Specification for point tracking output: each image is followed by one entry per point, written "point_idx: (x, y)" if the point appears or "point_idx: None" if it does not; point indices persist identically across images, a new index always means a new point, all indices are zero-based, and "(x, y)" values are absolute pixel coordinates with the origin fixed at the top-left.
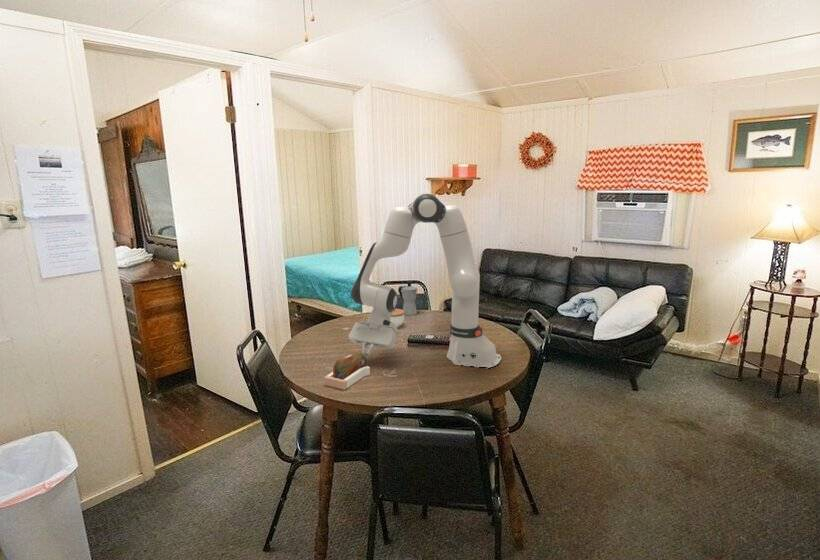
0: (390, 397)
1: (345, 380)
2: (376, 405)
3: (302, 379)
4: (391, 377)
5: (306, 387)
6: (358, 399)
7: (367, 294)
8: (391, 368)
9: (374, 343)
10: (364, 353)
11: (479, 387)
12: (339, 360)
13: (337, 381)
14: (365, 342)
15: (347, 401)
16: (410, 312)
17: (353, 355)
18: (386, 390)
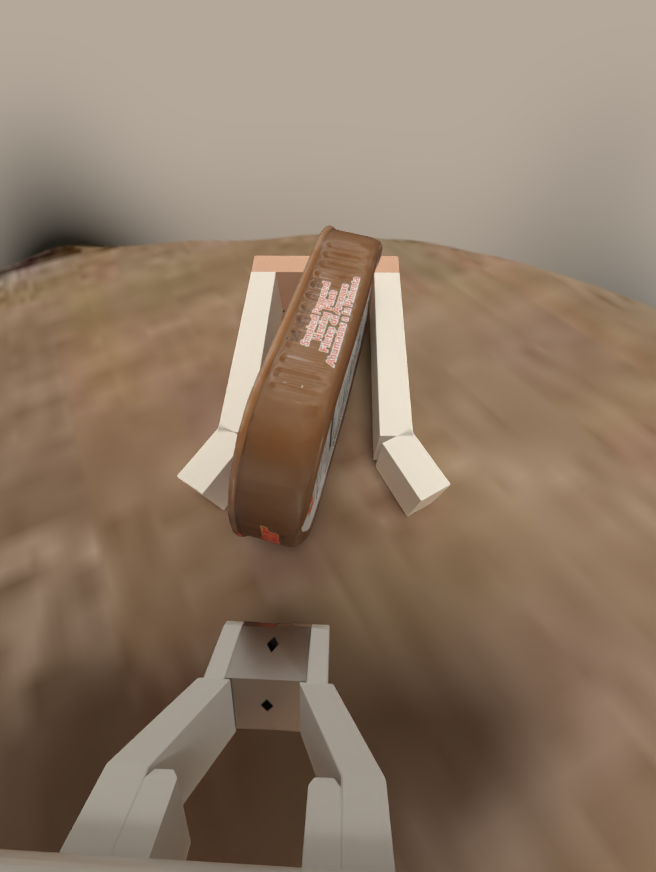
0: (14, 320)
1: (258, 269)
2: (72, 257)
3: (538, 297)
4: (30, 523)
5: (447, 255)
6: (164, 263)
7: None
8: (49, 702)
9: (27, 855)
10: (287, 624)
11: None
12: (353, 237)
13: (301, 260)
14: (321, 862)
15: (204, 240)
16: None
17: (278, 328)
18: (44, 365)
